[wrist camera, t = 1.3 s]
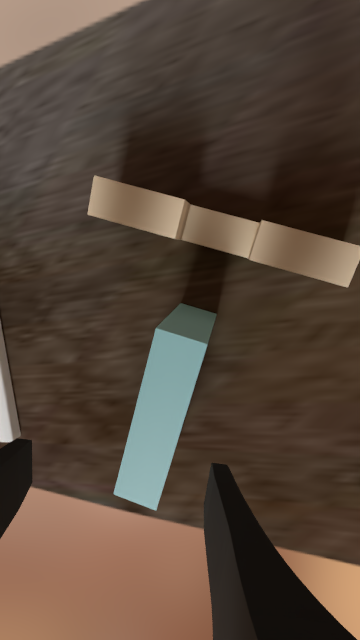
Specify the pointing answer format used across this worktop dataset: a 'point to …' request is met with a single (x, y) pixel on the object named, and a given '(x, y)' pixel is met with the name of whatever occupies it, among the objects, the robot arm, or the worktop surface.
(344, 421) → the worktop surface
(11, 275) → the worktop surface
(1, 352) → the external hard drive
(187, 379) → the teal notched block
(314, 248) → the birch slotted rail
